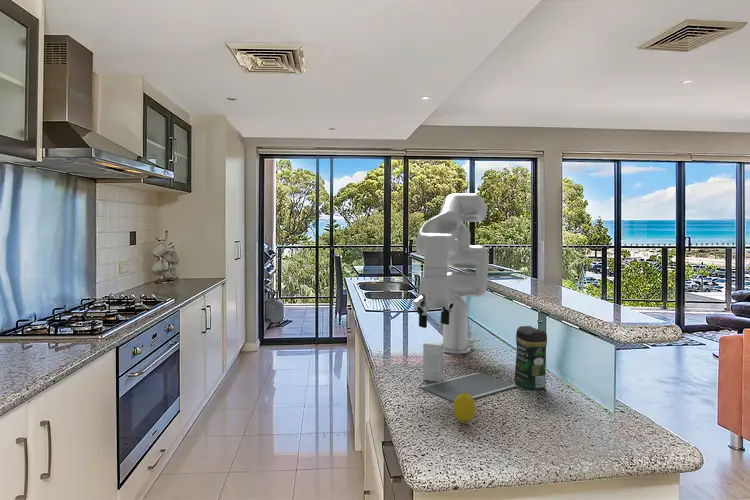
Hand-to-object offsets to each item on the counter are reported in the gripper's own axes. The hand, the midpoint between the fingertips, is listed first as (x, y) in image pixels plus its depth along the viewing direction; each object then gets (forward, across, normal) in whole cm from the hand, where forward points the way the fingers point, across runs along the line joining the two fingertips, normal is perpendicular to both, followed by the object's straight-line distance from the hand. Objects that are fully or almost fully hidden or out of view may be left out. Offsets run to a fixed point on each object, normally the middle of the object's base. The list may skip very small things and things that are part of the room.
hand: (434, 325), depth 155 cm
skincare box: (+18, 0, 0) cm, 18 cm away
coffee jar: (+18, -22, +21) cm, 35 cm away
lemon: (+18, +17, +30) cm, 39 cm away
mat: (+18, -4, +12) cm, 22 cm away
